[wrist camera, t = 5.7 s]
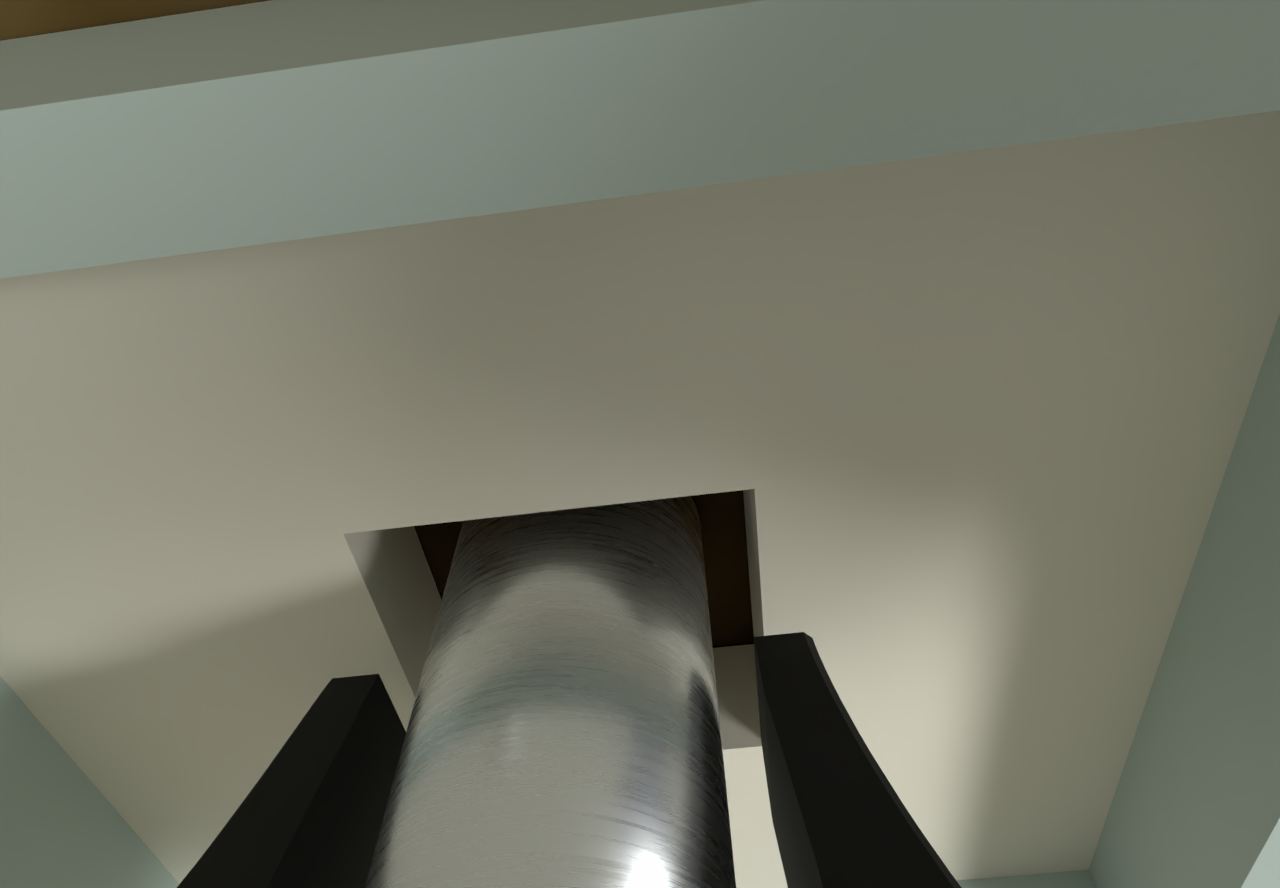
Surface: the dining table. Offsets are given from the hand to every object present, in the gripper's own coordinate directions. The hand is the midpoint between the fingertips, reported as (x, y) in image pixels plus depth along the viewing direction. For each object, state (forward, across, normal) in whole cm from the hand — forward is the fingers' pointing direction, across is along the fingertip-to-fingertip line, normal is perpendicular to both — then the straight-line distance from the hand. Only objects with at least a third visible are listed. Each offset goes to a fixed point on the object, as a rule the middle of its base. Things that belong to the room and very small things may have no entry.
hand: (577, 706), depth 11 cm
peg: (+3, 0, 0) cm, 3 cm away
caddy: (+3, 0, 0) cm, 3 cm away
